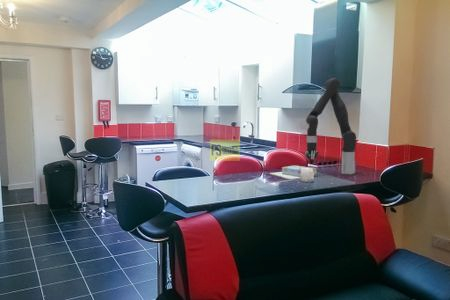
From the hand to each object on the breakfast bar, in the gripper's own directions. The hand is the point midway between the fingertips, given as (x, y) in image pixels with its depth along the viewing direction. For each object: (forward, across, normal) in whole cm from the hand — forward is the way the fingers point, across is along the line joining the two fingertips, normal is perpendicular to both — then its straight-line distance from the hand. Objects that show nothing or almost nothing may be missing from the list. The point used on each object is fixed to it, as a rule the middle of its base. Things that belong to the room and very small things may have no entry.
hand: (311, 164), depth 286 cm
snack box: (+4, -6, 0) cm, 7 cm away
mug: (+8, -22, -22) cm, 32 cm away
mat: (+7, -19, +1) cm, 20 cm away
